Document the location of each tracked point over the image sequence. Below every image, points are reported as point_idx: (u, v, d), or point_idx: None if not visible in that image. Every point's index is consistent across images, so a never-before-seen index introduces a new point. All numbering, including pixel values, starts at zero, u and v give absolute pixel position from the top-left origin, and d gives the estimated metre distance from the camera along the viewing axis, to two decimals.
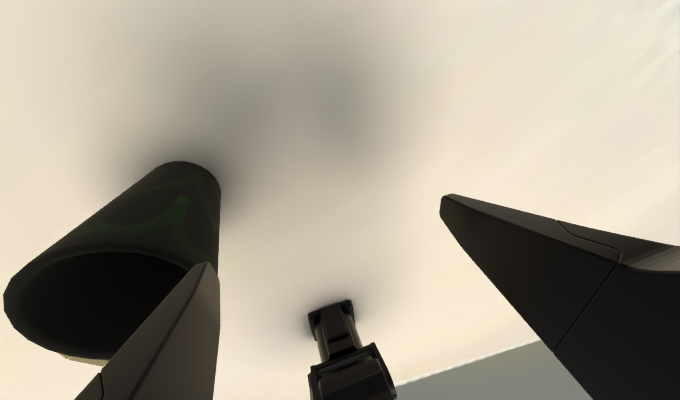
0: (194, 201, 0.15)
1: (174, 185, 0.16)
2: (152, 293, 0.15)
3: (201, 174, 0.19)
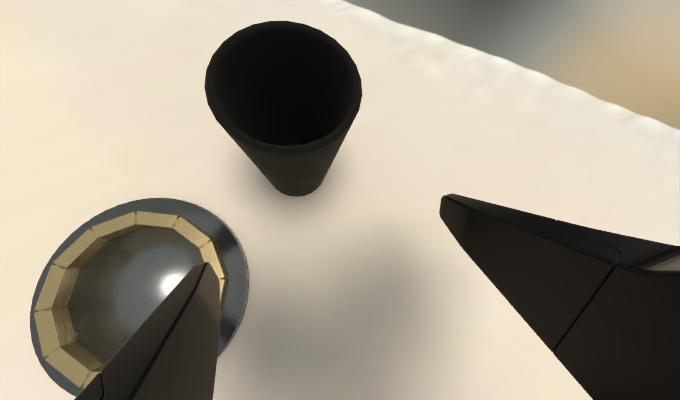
0: None
1: None
2: None
3: None
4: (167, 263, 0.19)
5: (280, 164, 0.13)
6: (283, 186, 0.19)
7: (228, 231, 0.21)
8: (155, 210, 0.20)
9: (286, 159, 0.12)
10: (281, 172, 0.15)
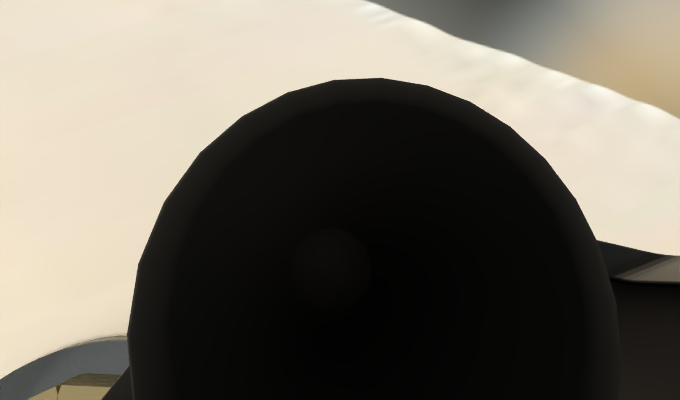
0: None
1: None
2: (298, 379, 0.06)
3: None
4: None
5: None
6: None
7: None
8: (100, 365, 0.12)
9: None
10: None
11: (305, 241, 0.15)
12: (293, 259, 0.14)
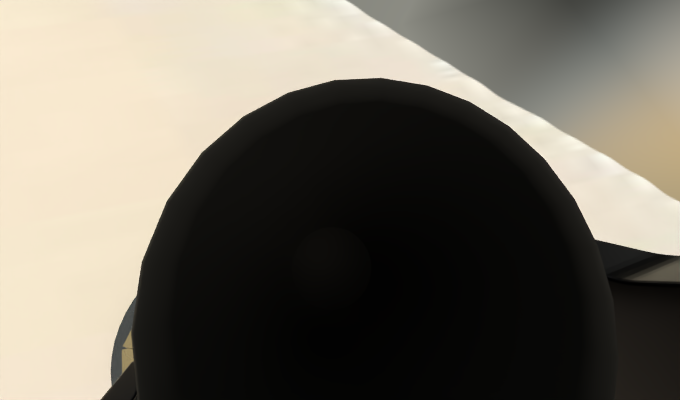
0: None
1: None
2: (299, 376, 0.06)
3: None
4: None
5: None
6: None
7: None
8: None
9: None
10: None
11: (306, 240, 0.15)
12: (294, 258, 0.15)
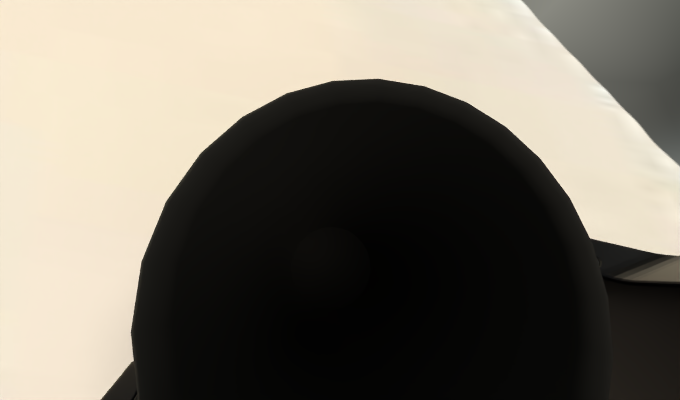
0: None
1: None
2: (298, 376, 0.06)
3: None
4: None
5: None
6: None
7: None
8: None
9: None
10: None
11: (305, 240, 0.15)
12: (293, 258, 0.15)
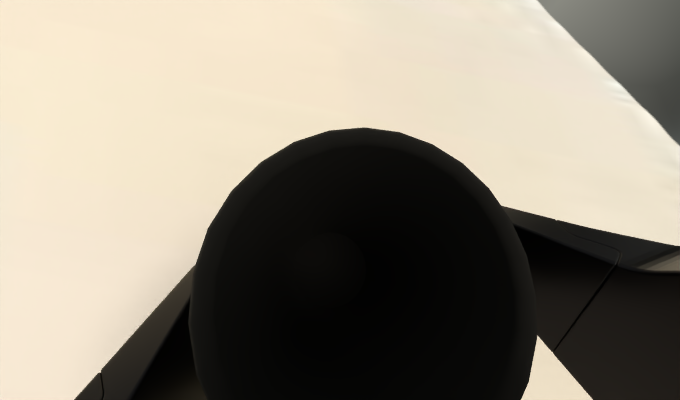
0: None
1: None
2: (303, 361, 0.08)
3: None
4: None
5: None
6: None
7: None
8: None
9: None
10: None
11: (306, 245, 0.16)
12: (295, 261, 0.16)
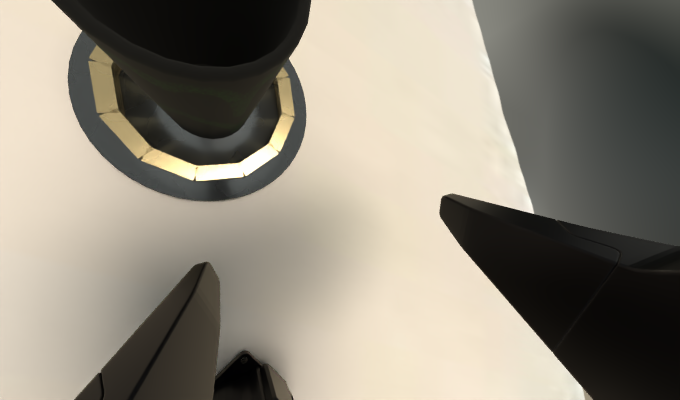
0: None
1: None
2: None
3: None
4: None
5: (161, 86, 0.08)
6: (178, 120, 0.14)
7: (304, 124, 0.21)
8: None
9: (168, 81, 0.08)
10: (167, 99, 0.10)
11: None
12: None
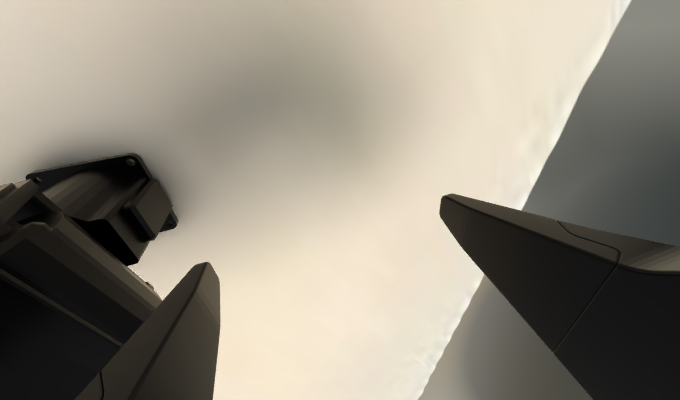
0: None
1: None
2: None
3: None
4: None
5: None
6: None
7: None
8: None
9: None
10: None
11: None
12: None
